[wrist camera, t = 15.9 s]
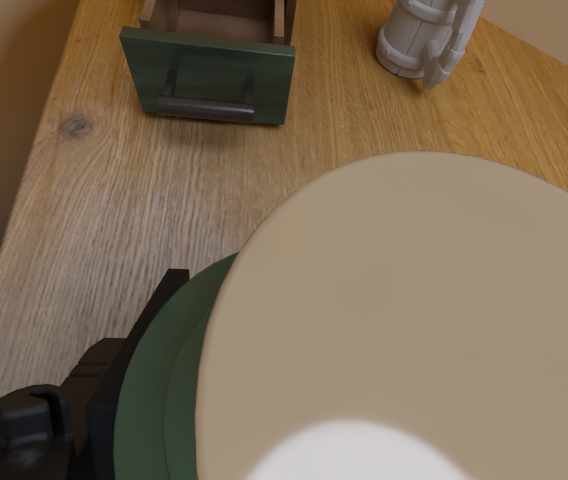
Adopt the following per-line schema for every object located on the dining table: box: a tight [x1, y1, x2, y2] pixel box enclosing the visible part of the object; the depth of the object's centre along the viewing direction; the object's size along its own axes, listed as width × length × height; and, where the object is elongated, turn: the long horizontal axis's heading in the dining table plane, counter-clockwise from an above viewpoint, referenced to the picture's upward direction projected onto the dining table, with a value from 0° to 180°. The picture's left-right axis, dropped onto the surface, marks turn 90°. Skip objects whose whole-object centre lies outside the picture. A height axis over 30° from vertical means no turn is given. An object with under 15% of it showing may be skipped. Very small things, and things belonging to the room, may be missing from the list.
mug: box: [376, 0, 484, 89], centre depth 33 cm, size 8×12×12 cm, turn 8°
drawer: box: [119, 0, 295, 125], centre depth 30 cm, size 19×13×7 cm
